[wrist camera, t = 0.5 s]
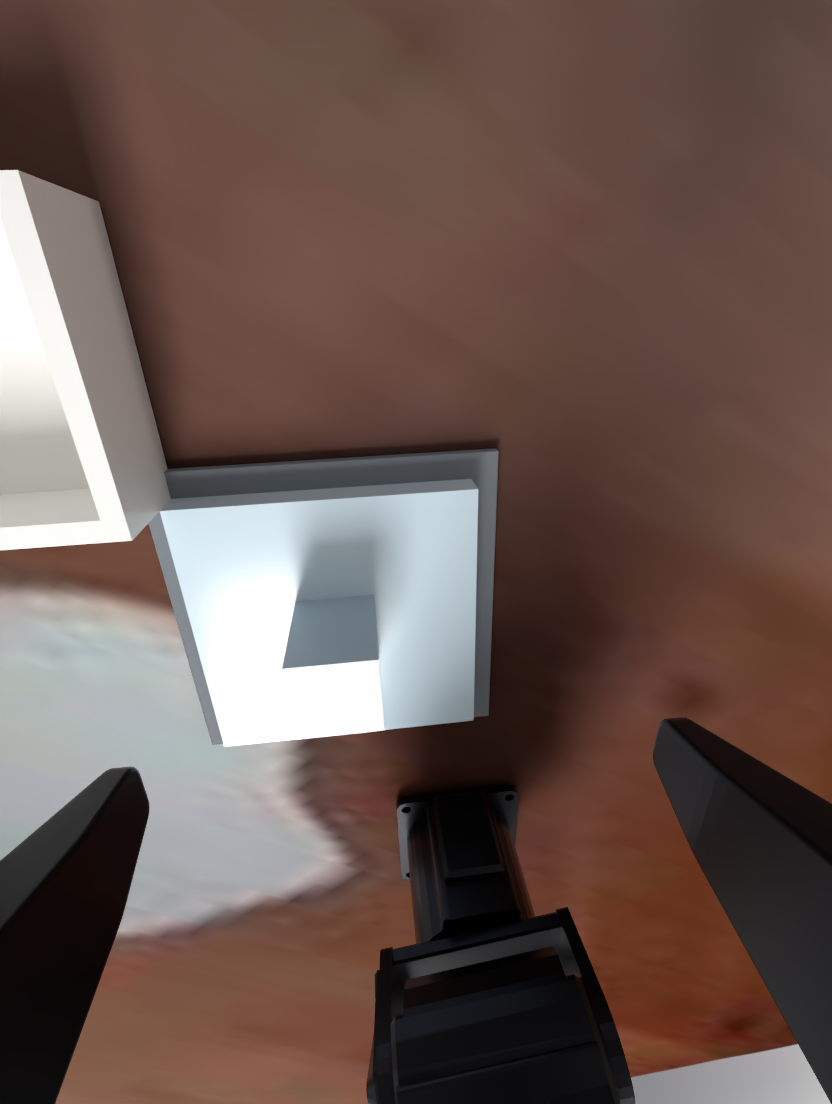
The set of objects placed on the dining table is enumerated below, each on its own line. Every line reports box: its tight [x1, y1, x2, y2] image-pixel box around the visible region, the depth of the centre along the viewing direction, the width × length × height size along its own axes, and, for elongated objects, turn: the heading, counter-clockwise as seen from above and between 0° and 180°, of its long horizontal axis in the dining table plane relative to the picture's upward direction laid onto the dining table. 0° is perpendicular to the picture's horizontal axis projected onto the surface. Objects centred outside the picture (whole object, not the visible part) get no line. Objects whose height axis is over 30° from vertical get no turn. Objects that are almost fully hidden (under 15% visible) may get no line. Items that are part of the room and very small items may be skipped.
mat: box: [149, 448, 498, 745], centre depth 22 cm, size 13×13×1 cm
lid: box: [160, 479, 478, 747], centre depth 19 cm, size 11×11×5 cm
